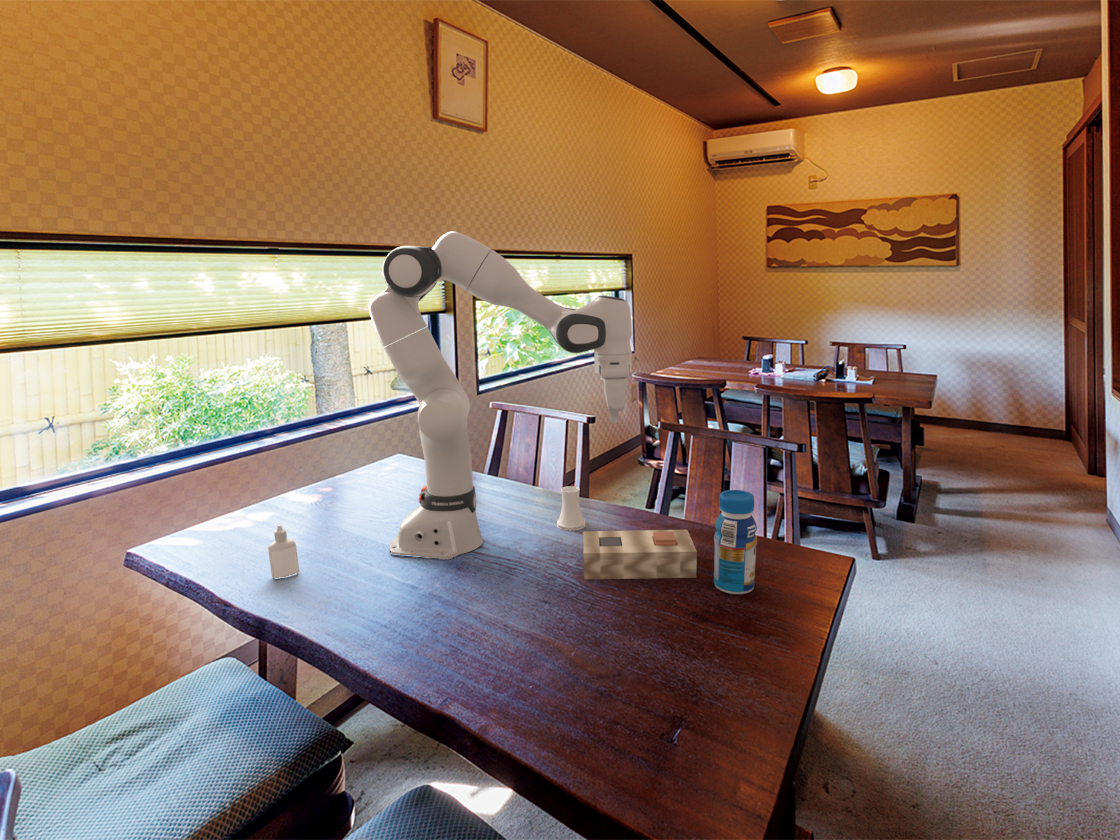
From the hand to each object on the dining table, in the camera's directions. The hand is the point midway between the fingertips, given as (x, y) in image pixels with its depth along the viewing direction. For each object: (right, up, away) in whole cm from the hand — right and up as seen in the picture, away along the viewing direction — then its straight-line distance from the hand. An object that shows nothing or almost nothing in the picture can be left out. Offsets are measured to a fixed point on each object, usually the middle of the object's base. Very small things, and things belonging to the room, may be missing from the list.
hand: (613, 422), depth 153 cm
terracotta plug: (+10, -31, -12) cm, 34 cm away
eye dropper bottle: (-75, -35, -11) cm, 83 cm away
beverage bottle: (+23, -34, -22) cm, 47 cm away
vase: (-10, -27, +13) cm, 32 cm away
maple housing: (+4, -32, -11) cm, 34 cm away
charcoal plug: (-2, -32, -11) cm, 34 cm away
